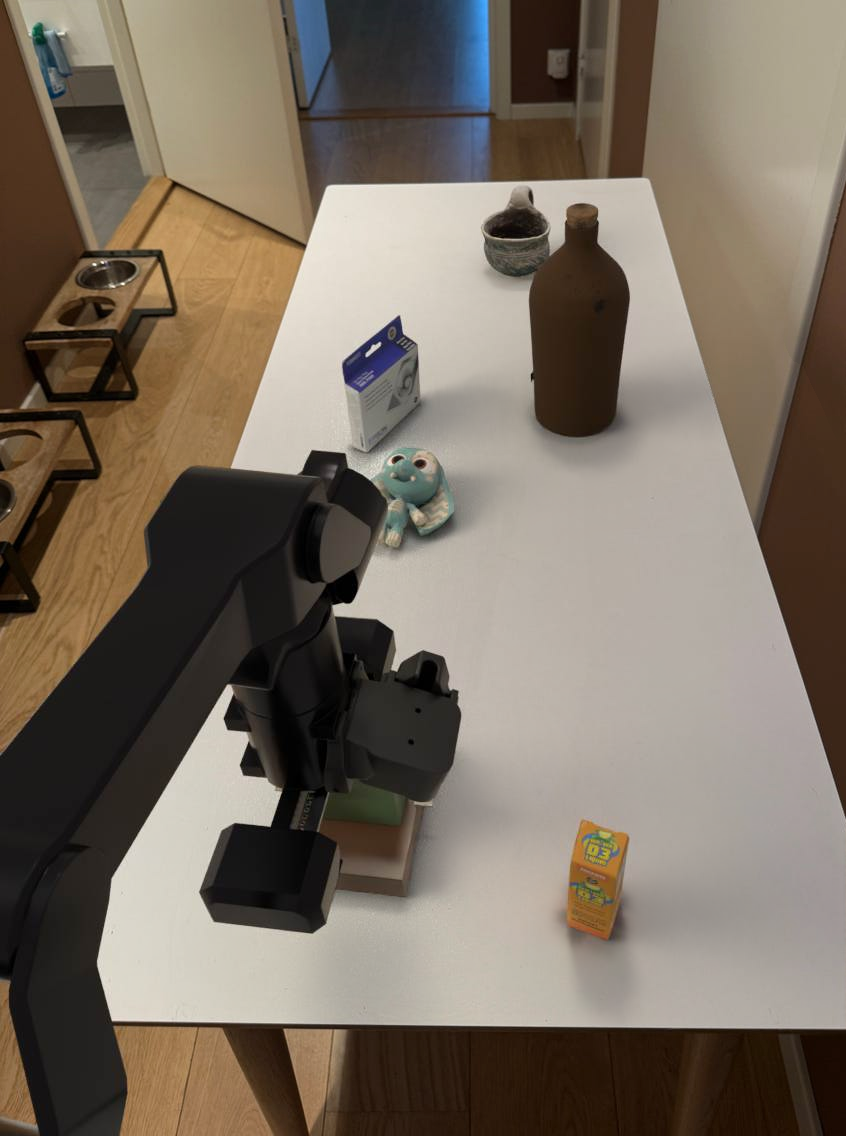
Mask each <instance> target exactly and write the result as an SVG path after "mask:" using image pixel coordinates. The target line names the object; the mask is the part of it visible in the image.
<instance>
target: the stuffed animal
mask: <svg viewBox="0 0 846 1136" xmlns="http://www.w3.org/2000/svg"><path fill="white" fill-rule="evenodd" d="M369 480H370V481H371V482H373V484H374V485H375V486H376V487H377V488H378V489H379V490H380V492H381V494H382V496H384V497H385V498H386V500H387V504H388V515H387V518H386V521H385V523H384V526H383V528H382V531H381V533H380V536H379V539H378V541H377V544H376V545H384V542H385V543H386V545H387V546H389V547H391V548H399V547H400V544H401V542H402V538H403V532H404V529H405V528H406V526H408V522H409V514H410V518H411V520H412V521H413V524H414V525H415V527H416V529H417V532H418V533H419V535H420V536H421V537H422V536H427V535H428V534H430V533H432V532H433V531H435V530H437V529H439V528H441V527H442V526H443V525H444V523H445V522H446V521H447V520H448V519H449V518H450V517H451V515H452V514H453V513H454V512H455V501H454V498H453V495H452V493H451V490H450V487H449V484H448V481H447V479H446V474H445V471H444V467H443V466H442V464H440V462H439V459H438V458H437V456H436V455H435V454H433V452H431V451H429V450H426V449H424V448H419V447H407V446H401V447H398V448H396V449H395V450H394V451H393V452H391V454H390V455H389V456H388V457H387V458H386V459H385V460H384V462H383V464H382V467H381V470H380V472H379V473H377V474H376V475H375V476H373V477H372V478H371V479H369ZM416 506H421V507H420V508H417V507H416ZM388 529H389V530H388Z"/></svg>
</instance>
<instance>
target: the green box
mask: <svg viewBox="0 0 846 1136" xmlns="http://www.w3.org/2000/svg"><path fill="white" fill-rule="evenodd" d="M310 793H312V791H310ZM308 799H311V798H309V796H308ZM405 800H406V796H402V795H399V794H396V793H392V792H389V791H385V790H382V789H379V788H375V787H372V786H369V785H366V784H363V783H362V782H360V781H359V780H357V779H354V781H353V785H352V788H351V792H350V795H348V794H339V793H329V796H328V800H327V803H326V807H325V811H324V814H323V818H326V819H336V820H346V821H356V822H366V823H376V824H386V825H396V826H400V825H401V820H402V815H403V810H404V805H405ZM306 806H308V804H307V803H306ZM305 812H307V811H305V810H304V813H305Z"/></svg>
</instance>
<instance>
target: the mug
mask: <svg viewBox="0 0 846 1136" xmlns="http://www.w3.org/2000/svg"><path fill="white" fill-rule="evenodd" d="M534 204H535V197H534V192H533V189H532V188H531V187H530V186H527V185H517V186H515V187H514V188H513V189H512V191H511V193H510V196H509V199H508V202H507V204H506V205H505V208H504V209H502V210H499V211H496V212H494V213H492V214H490V215H489V216H488V217H486V218H485V219H484V220H483V222H482V224H481V226H480V230H481V234H482V236H483V238H484V242H483V253H484V255H485V259H486V260H487V261H486V262H488V264H489V265H490V267H491V268H492V269H494V270H495V271H497V272H498V273H500V274H502V275H504V276H509V277H513V278H514V277H516V278H521V277H525V276H529V275H531V274H535V273H536V271H537V270H538V268H539V267H540V265H541V264H542V263H543V262H544V261H545V260H546V259H547V258H549V257H550V254H551V249H550V248H551V246H550V241H549V236H550V232H551V229H552V228H551V227H552V226H551V224H550V221H549V220H548V218H547V217H546V215H545V214H544V213H543V212H541V211H540V210H539V209H538V208H537V207H536V206H535V205H534Z"/></svg>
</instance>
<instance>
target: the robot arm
mask: <svg viewBox="0 0 846 1136" xmlns="http://www.w3.org/2000/svg"><path fill="white" fill-rule="evenodd" d="M347 457H348V456H347V454H346V452H339V451H327V450H317V449H311V451H310V452H309V454H308V456H307V458H306V460H305V462H304V464H303V467H302V470H301V471H299V472H298V473H297V474H295V473H294V474H293V473H282V472H273V471H262V470H253V469H241V468H232V467H230V468H229V467H221V466H212V465H203V464H202V465H200V464H196V465H195V464H194V465H190V466H189V467H187V468H186V469H185V470H183V471H182V472H181V473H180V474H179V475H178V477H177V478H176V479H175V480H174V481H173V483H172V484H171V486H170V487H169V489H168V491H167V492H166V494H165V495H164V496H163V497H162V499H161V500H160V501H159V504H158V506H157V507H156V509H155V511H154V512H153V514H152V515H151V516H150V518H149V520H148V522H147V523H146V524H145V526H144V529H143V539H144V547H145V557H146V566H147V567H146V569H145V571H144V573H143V574H142V575H141V577H140V579H139V580H138V582H137V584H136V586H134V587H135V588H134V589H133V590H132V592H131V593H130V594H129V595H128V596H127V598H126V599H124V601H123V602H122V604H121V605H120V606H119V608H118V609H116V611H115V613H113V615H112V616H111V617H110V618H109V620H108V621H107V622H106V624H105V625H104V626H103V627H102V628H101V629H100V630H99V632H98V634H96V636H95V637H94V638H93V640H92V641H91V642H90V643H89V644H88V646H86V648H85V649H84V651H82V652H81V654H80V656H79V657H78V658H77V659H76V660H75V661H74V663H73V664H72V665H71V667H70V668H69V669H68V670H67V672H66V673H65V674H64V675H63V676H62V677H61V679H60V680H59V682H57V684H56V685H55V686H54V687H53V689H52V690H51V691H50V693H48V695H47V696H46V698H44V700H43V701H42V702H41V703H40V704H39V706H38V707H37V708H36V709H35V711H34V712H33V713H32V715H30V716H29V718H28V720H27V721H26V722H25V723H24V724H23V725H22V727H21V728H20V729H19V731H18V732H17V733H16V734H15V735H14V737H13V738H12V739H11V740H10V742H9V743H8V744H7V745H6V746H5V748H4V749H3V750H2V751H1V752H0V983H6V984H9V988H8V1010H9V1013H10V1018H11V1022H12V1026H13V1030H14V1034H15V1038H16V1043H17V1047H18V1051H19V1055H20V1059H21V1063H22V1068H23V1072H24V1076H25V1080H26V1084H27V1085H26V1086H27V1088H28V1092H29V1097H30V1101H31V1105H32V1109H33V1113H34V1119H35V1124H34V1123H30V1122H26V1121H22V1120H17V1119H14V1118H13V1119H12V1118H8V1117H4V1116H0V1136H121V1131H122V1126H123V1119H124V1115H125V1110H126V1105H127V1099H128V1093H129V1092H128V1091H129V1090H128V1076H127V1072H126V1068H125V1064H124V1060H123V1057H122V1053H121V1050H120V1049H121V1048H120V1046H119V1042H118V1038H117V1035H116V1031H115V1026H114V1024H113V1019H112V1015H111V1012H110V1009H109V1004H108V1001H107V996H106V993H105V989H104V986H103V981H102V978H101V973H100V971H99V966H98V959H99V955H100V949H101V944H102V939H103V934H104V929H105V924H106V920H107V915H108V909H109V905H110V898H111V888H112V879H113V877H114V876H115V874H116V872H117V871H118V869H119V868H120V865H121V864H122V862H123V861H124V859H125V857H126V855H127V854H128V852H129V851H130V849H131V847H132V845H134V843H135V840H136V839H137V838H138V835H139V834H140V832H141V831H142V829H143V827H144V826H145V824H146V823H147V820H148V818H149V817H150V816H151V814H152V812H153V810H154V808H155V807H156V806H157V804H158V802H159V800H160V799H161V797H162V796H163V794H164V792H165V791H166V788H167V787H168V785H169V783H170V782H171V780H172V778H173V777H174V775H175V773H176V772H177V770H178V768H179V766H180V765H181V763H182V762H183V760H184V758H185V756H186V755H187V753H188V752H189V751H190V748H191V747H192V745H193V743H194V741H195V740H196V738H197V736H198V735H199V733H200V732H201V730H202V728H203V726H204V725H205V724H206V721H207V720H208V718H209V716H210V715H211V713H212V711H213V710H214V708H215V707H216V705H217V703H218V701H219V700H220V698H221V697H222V695H223V693H224V691H225V690H226V688H227V687H228V686H230V688H231V689H232V693H233V694H232V696H231V698H230V700H229V703H228V706H227V709H226V710H225V713H224V716H223V721H224V725H225V727H226V730H227V731H230V732H240V733H241V732H242V733H246V735H247V740H248V741H247V744H246V747H245V749H244V752H243V754H242V758H241V761H240V763H239V768H240V770H241V773H242V776H243V777H251V778H252V777H253V778H262V779H267V781H268V783H269V784H271V785H272V786H274V787H278V788H280V789H282V792H280V796H279V799H278V802H277V805H276V808H275V811H274V813H273V817H272V820H271V824H270V826H268V825H259V824H249V823H240V822H234V823H232V824H230V825H228V826H227V827H225V828H223V829H221V831H220V833H219V836H218V838H217V842H216V844H215V848H214V851H213V852H212V855H211V858H210V861H209V864H208V865H207V869H206V872H205V875H204V878H203V880H202V882H201V885H200V888H199V891H198V893H199V895H200V898H201V900H202V902H203V905H204V907H205V909H206V910H207V912H208V914H209V916H210V918H211V920H212V921H213V923H218V924H225V925H226V924H227V925H234V926H235V925H236V926H244V927H251V928H260V929H268V930H276V931H277V930H278V931H285V932H293V933H302V934H311V935H313V934H314V933H316V932H318V931H319V930H320V929H321V928H323V927H324V926H326V925H327V923H328V918H329V915H330V911H331V908H332V904H333V901H334V898H335V894H336V890H337V889H336V885H337V882H338V878H339V874H340V870H341V866H342V862H343V860H342V859H340V850H339V846H338V843H337V842H335V841H333V840H332V839H330V838H328V837H326V836H325V835H323V834H321V833H319V828H320V825H321V821H322V818H323V814H324V811H325V807H326V803H327V800H328V796H329V793H339V794H348V795H350V792H351V788H352V785H353V781H354V779H357V780H359V781H360V782H362V783H363V784H366V785H369V786H372V787H375V788H379V789H382V790H385V791H389V792H392V793H396V794H399V795H402V796H406V797H407V798H409V799H410V800H412V801H416V802H431V801H432V800H433V799H434V798H435V797H436V796H437V794H438V792H439V790H440V788H441V786H442V785H443V783H444V781H445V780H446V778H447V776H448V775H449V773H450V771H451V769H452V767H453V765H454V762H455V755H456V749H457V744H458V739H459V734H460V727H461V722H462V711H461V707H460V706H459V690H457V689H455V688H451V689H450V687H449V684H450V683H449V682H450V678H451V677H450V671H449V668H448V665H447V662H446V658H445V657H444V656H443V655H440V654H437V653H434V652H432V651H431V652H430V651H427V650H425V649H422V650H420V651H418V652H416V653H415V654H413V655H411V656H409V657H408V658H406V659H404V660H403V661H402V662H401V663H399V666H398V667H397V670H393V669H392V668H393V663H394V660H395V657H396V653H397V647H396V638H395V631H394V630H393V629H392V628H391V627H389V626H388V625H387V624H385V623H384V622H383V621H381V620H379V619H378V618H371V617H356V616H344V615H343V616H342V615H335V611H334V606H337V605H341V604H345V605H351V604H352V603H353V602H354V600H356V599H355V598H356V596H357V594H358V592H359V589H360V587H361V584H362V582H363V580H364V577H365V574H366V572H367V569H368V566H369V564H370V561H371V558H372V556H373V554H374V551H375V549H376V546H377V545H378V544H377V541H378V539H379V536H380V533H381V531H382V528H383V526H384V523H385V521H386V518H387V515H388V504H387V500H386V498H385V497H384V496H382V494H381V492H380V490H379V489H378V488H377V487H376V486H375V485H374V484H373V482H371V481H370V480H371V479H369V478H367V477H366V476H365V475H364V474H363V473H360V472H358V471H356V470H354V469H352V468H350V467H349V465H348V458H347ZM310 791H312V793H310ZM308 796H309V798H311V799H308ZM306 803H307V804H308V806H306ZM304 810H305V811H307V812H305V813H304ZM302 816H303V817H304V818H305V819H302ZM300 823H301V824H302V825H303V826H300Z"/></svg>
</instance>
